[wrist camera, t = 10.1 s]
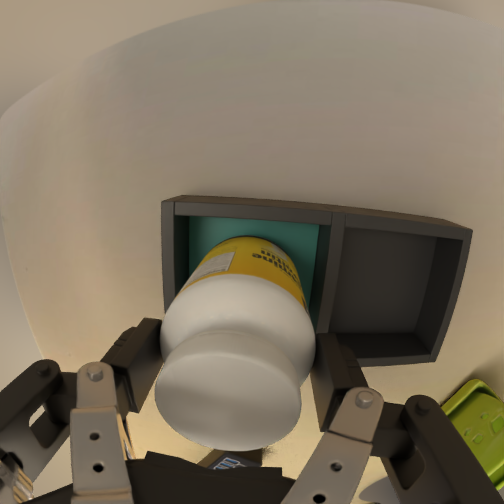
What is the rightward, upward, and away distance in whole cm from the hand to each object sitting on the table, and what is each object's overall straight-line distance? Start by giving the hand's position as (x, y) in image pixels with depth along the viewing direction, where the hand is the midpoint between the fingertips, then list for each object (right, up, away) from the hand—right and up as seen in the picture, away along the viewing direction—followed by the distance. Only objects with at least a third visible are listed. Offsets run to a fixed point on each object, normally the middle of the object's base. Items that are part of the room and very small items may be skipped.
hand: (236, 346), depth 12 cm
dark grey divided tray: (+5, +2, +9) cm, 11 cm away
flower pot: (+26, -17, +14) cm, 33 cm away
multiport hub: (-4, -22, +17) cm, 28 cm away
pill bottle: (0, +2, +8) cm, 8 cm away
